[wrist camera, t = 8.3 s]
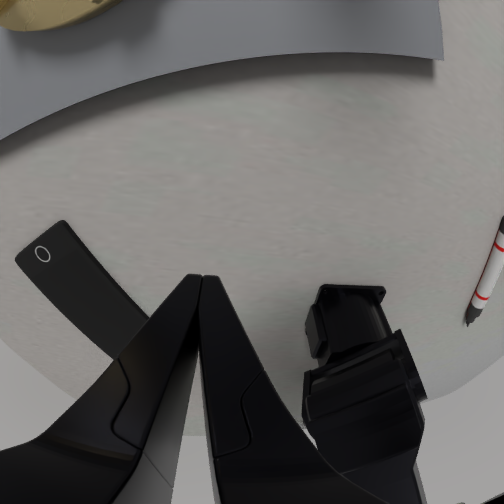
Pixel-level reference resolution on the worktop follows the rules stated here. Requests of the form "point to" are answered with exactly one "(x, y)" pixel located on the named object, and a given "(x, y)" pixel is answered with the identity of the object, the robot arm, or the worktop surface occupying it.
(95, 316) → the cell phone
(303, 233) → the worktop surface
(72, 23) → the brass wheel crank mechanism
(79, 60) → the grey rectangular board
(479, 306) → the marker
